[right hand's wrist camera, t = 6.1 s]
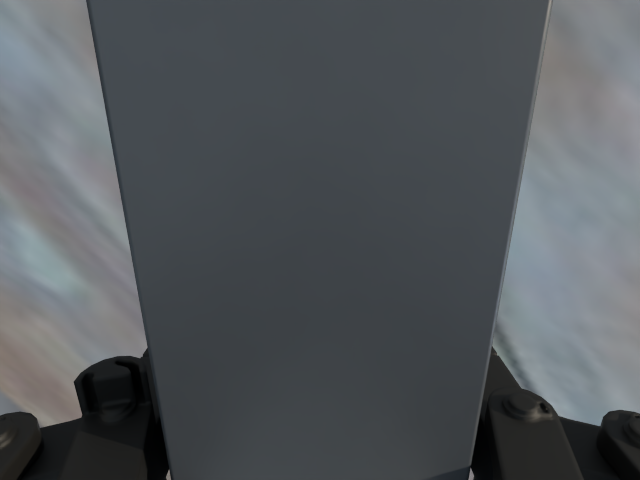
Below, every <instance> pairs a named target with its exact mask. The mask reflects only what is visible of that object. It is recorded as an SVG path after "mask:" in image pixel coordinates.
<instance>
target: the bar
mask: <svg viewBox="0 0 640 480" xmlns="http://www.w3.org/2000/svg"><path fill="white" fill-rule="evenodd" d="M86 2H87V7H88V13H89V19H90V24H91V30H92V36H93V41H94V47H95V53H96V58H97V64H98V69H99V75H100V81H101V86H102V92H103V98H104V103H105V109H106V115H107V120H108V126H109V131H110V137H111V143H112V148H113V154H114V160H115V165H116V171H117V177H118V182H119V188H120V194H121V199H122V205H123V210H124V216H125V222H126V227H127V233H128V239H129V244H130V250H131V256H132V261H133V267H134V272H135V278H136V284H137V289H138V295H139V301H140V306H141V312H142V318H143V323H144V329H145V335H146V340H147V346H148V351H149V357H150V363H151V368H152V374H153V380H154V385H155V391H156V397H157V402H158V408H159V413H160V419H161V425H162V430H163V436H164V442H165V447H166V453H167V459H168V464H169V470H170V476H171V480H468V479H469V473H470V467H471V462H472V456H473V450H474V445H475V439H476V433H477V428H478V422H479V416H480V411H481V405H482V399H483V394H484V388H485V382H486V377H487V371H488V365H489V360H490V354H491V348H492V343H493V337H494V332H495V326H496V320H497V315H498V309H499V303H500V298H501V292H502V286H503V281H504V275H505V269H506V264H507V258H508V252H509V247H510V241H511V235H512V230H513V224H514V218H515V213H516V207H517V201H518V196H519V190H520V184H521V179H522V173H523V167H524V162H525V156H526V151H527V145H528V139H529V134H530V128H531V122H532V117H533V111H534V105H535V100H536V94H537V88H538V83H539V77H540V71H541V66H542V60H543V54H544V49H545V43H546V37H547V32H548V26H549V20H550V15H551V9H552V3H553V0H86Z"/></svg>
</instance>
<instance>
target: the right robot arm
mask: <svg viewBox="0 0 640 480" xmlns="http://www.w3.org/2000/svg"><path fill="white" fill-rule="evenodd" d="M74 385H75V389H76V392H77V396H78V400H79V404H80V408H81V411H82V417H81V418H79V419H76V420H72V421H69V422H64V423H60V424H56V425H51V426H47V427H43V428H40V427H39V424H38V421H37V418H36V417H34V416H33V415H32V414H31V413H25V412H15V413H7V414H4V415H1V416H0V480H167V479H166V475H167V473H168V470H169V464H168V459H167V453H166V447H165V442H164V436H163V430H162V425H161V419H160V413H159V408H158V402H157V397H156V391H155V385H154V380H153V374H152V368H151V363H150V357H149V351H148V348H147V349H146V351H145V352H144V354H143V357H141V358H136V357H132V356H117V357H113V358H109V359H105V360H102V361H100V362H98V363H96V364H93V365H91V366H90V367H88V368H87V369H86V370H84V371H83V372H81V373H80V374H79V376H78V377H77V378H76V380H75V381H74ZM471 469H472V472H473V474H474V479H473V480H640V414H639V413H636V412H631V411H624V410H616V411H610V412H608V413H607V414H606V415H605V416H604V417H603V420H602V423H601V426H596V425H592V424H587V423H583V422H579V421H574V420H570V419H566V418H563V417H560V416H558V414H557V413H556V411H555V410H554V408H553V407H552V405H550V404H549V403H548V402H547V401H546V400H544V399H543V398H542V397H540V396H538V395H536V394H534V393H532V392H530V391H528V390H525V389H521V387H520V386H519V384H518V383H517V381H516V380H515V379H514V377H513V376H512V374H511V373H510V371H509V370H508V368H507V367H506V366H505V364H504V363H503V361H502V360H501V358H500V357H499V356H497V352H496V351H495V350H494V348H493V347H492V348H491V354H490V360H489V365H488V371H487V377H486V382H485V388H484V394H483V399H482V405H481V411H480V416H479V422H478V428H477V433H476V439H475V445H474V450H473V456H472V462H471Z"/></svg>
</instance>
